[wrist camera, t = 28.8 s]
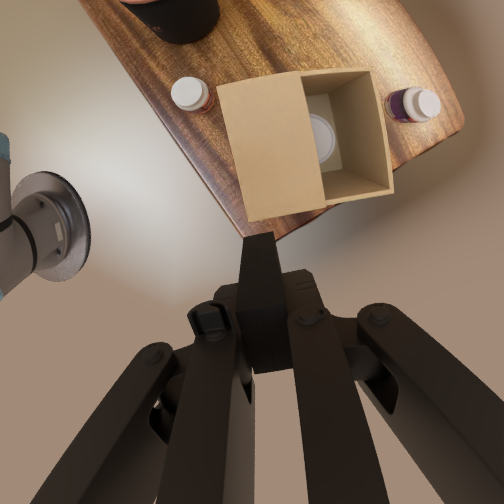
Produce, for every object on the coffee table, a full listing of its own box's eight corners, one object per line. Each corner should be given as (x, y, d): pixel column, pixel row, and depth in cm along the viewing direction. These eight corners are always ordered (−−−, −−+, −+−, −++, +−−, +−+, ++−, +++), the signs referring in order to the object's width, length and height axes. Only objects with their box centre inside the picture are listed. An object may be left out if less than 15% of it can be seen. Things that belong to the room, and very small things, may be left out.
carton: (251, 188, 43) (248, 220, 27) (231, 107, 39) (216, 87, 22) (345, 171, 42) (394, 193, 26) (329, 90, 37) (372, 66, 21)
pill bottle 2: (391, 126, 39) (422, 126, 30) (379, 95, 37) (408, 88, 28) (416, 118, 38) (449, 117, 29) (404, 88, 36) (436, 81, 27)
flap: (248, 221, 27) (248, 222, 27) (216, 87, 22) (216, 86, 22) (325, 206, 26) (326, 207, 26) (298, 71, 21) (298, 70, 21)
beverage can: (264, 134, 40) (269, 131, 26) (296, 113, 38) (317, 101, 25) (286, 164, 41) (302, 178, 28) (317, 144, 40) (348, 148, 26)
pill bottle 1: (215, 112, 39) (206, 106, 31) (184, 116, 39) (168, 111, 31) (214, 83, 37) (204, 71, 29) (183, 87, 37) (167, 77, 30)
